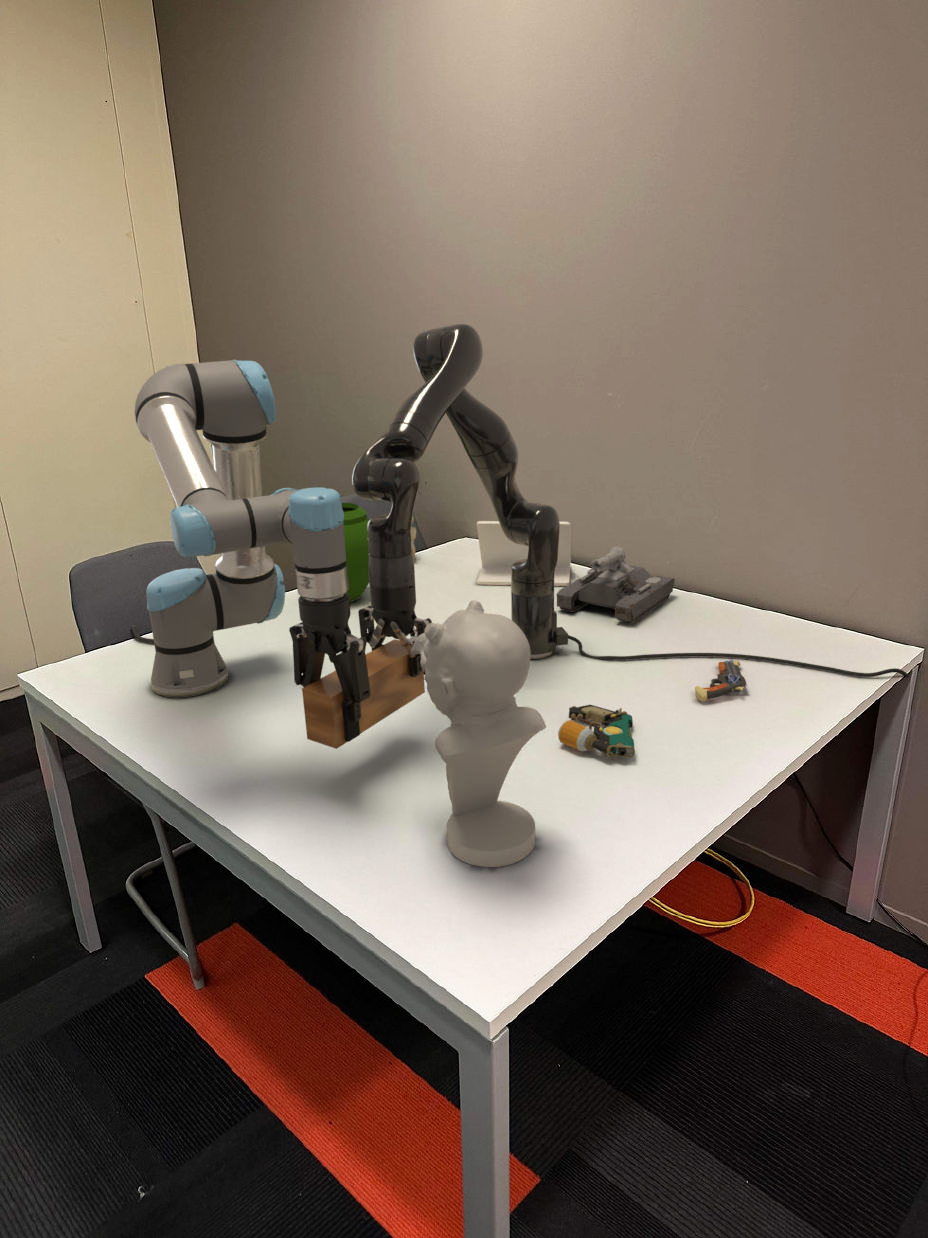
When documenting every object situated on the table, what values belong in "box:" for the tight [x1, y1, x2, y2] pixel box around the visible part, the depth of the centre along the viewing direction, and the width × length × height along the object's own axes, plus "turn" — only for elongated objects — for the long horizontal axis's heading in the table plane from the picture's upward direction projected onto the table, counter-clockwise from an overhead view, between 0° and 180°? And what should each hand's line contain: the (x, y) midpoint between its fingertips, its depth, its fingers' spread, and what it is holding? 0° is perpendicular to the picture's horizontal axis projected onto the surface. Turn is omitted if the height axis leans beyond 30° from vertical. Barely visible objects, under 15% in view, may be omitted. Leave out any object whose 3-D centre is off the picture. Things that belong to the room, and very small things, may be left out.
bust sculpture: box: [411, 599, 547, 868], centre depth 121 cm, size 16×24×35 cm
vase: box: [341, 502, 370, 603], centre depth 220 cm, size 20×20×24 cm
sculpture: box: [411, 516, 417, 562], centre depth 253 cm, size 6×7×15 cm
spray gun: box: [557, 704, 636, 759], centre depth 150 cm, size 4×17×15 cm
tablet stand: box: [476, 520, 572, 587], centre depth 236 cm, size 18×25×17 cm
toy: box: [556, 546, 676, 624], centre depth 212 cm, size 25×20×15 cm
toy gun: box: [694, 659, 749, 702], centre depth 169 cm, size 3×19×10 cm
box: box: [301, 638, 426, 750], centre depth 140 cm, size 23×6×9 cm, turn 146°
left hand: (335, 732), depth 135 cm, fingers closed on box, 6 cm apart
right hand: (397, 670), depth 146 cm, fingers open, 7 cm apart
